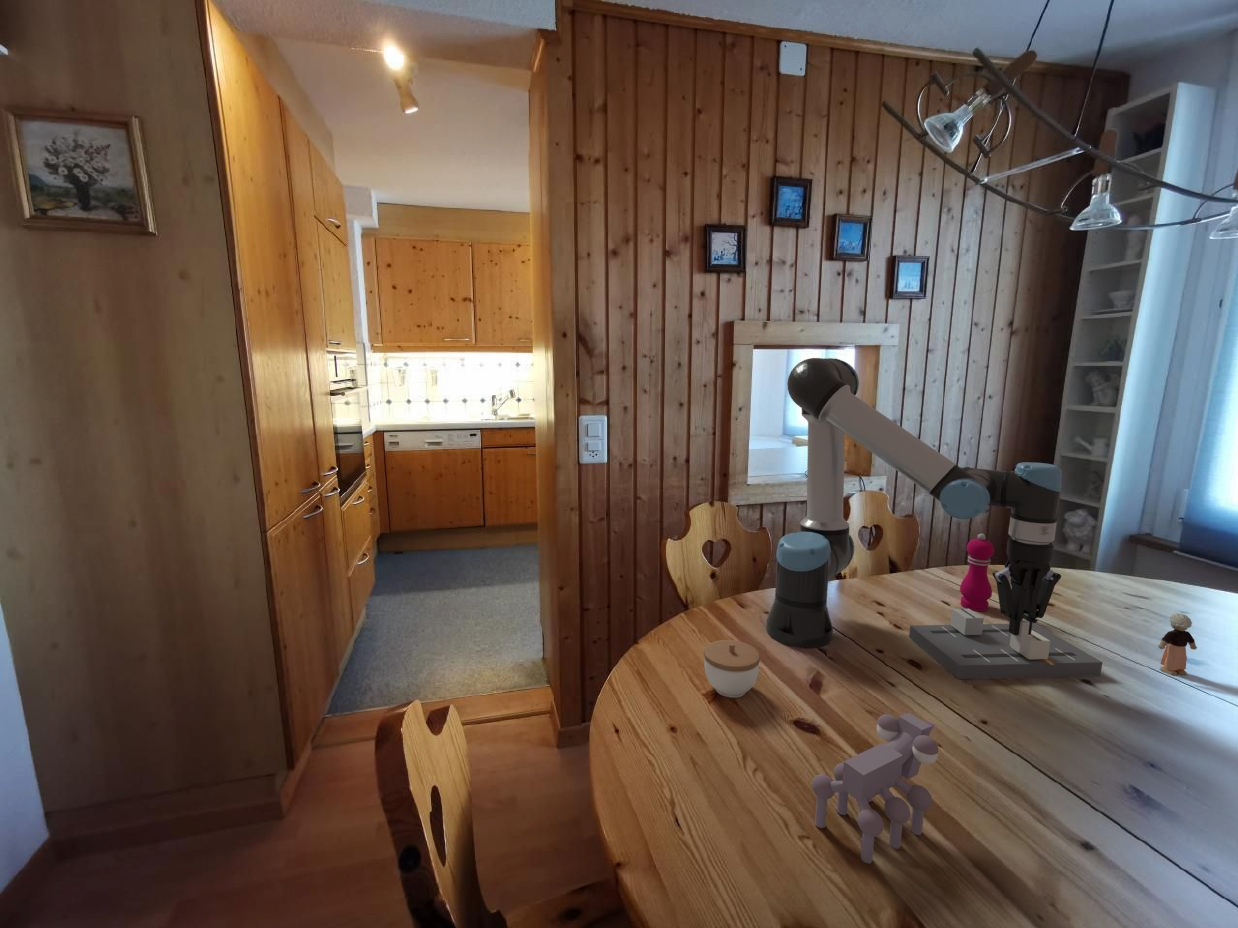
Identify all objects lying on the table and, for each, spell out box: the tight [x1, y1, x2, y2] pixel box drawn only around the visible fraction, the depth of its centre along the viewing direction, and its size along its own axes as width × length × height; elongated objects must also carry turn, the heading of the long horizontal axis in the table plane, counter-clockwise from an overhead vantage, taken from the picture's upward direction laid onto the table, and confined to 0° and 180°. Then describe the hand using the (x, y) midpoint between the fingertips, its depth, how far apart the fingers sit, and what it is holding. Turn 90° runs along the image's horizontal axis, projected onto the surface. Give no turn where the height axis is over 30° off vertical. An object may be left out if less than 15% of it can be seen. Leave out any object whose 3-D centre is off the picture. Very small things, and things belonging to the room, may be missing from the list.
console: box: [908, 622, 1103, 680], centre depth 123 cm, size 30×18×3 cm, turn 92°
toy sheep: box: [811, 712, 939, 864], centre depth 77 cm, size 20×11×14 cm, turn 119°
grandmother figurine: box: [1157, 612, 1198, 676], centre depth 115 cm, size 8×4×13 cm, turn 104°
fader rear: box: [950, 608, 984, 635], centre depth 127 cm, size 4×5×4 cm
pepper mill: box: [959, 533, 995, 612], centre depth 147 cm, size 7×7×20 cm
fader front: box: [1011, 630, 1050, 659], centre depth 117 cm, size 4×5×4 cm
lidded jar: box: [703, 639, 761, 699], centre depth 109 cm, size 11×11×9 cm
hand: (1017, 648), depth 117 cm, fingers closed
